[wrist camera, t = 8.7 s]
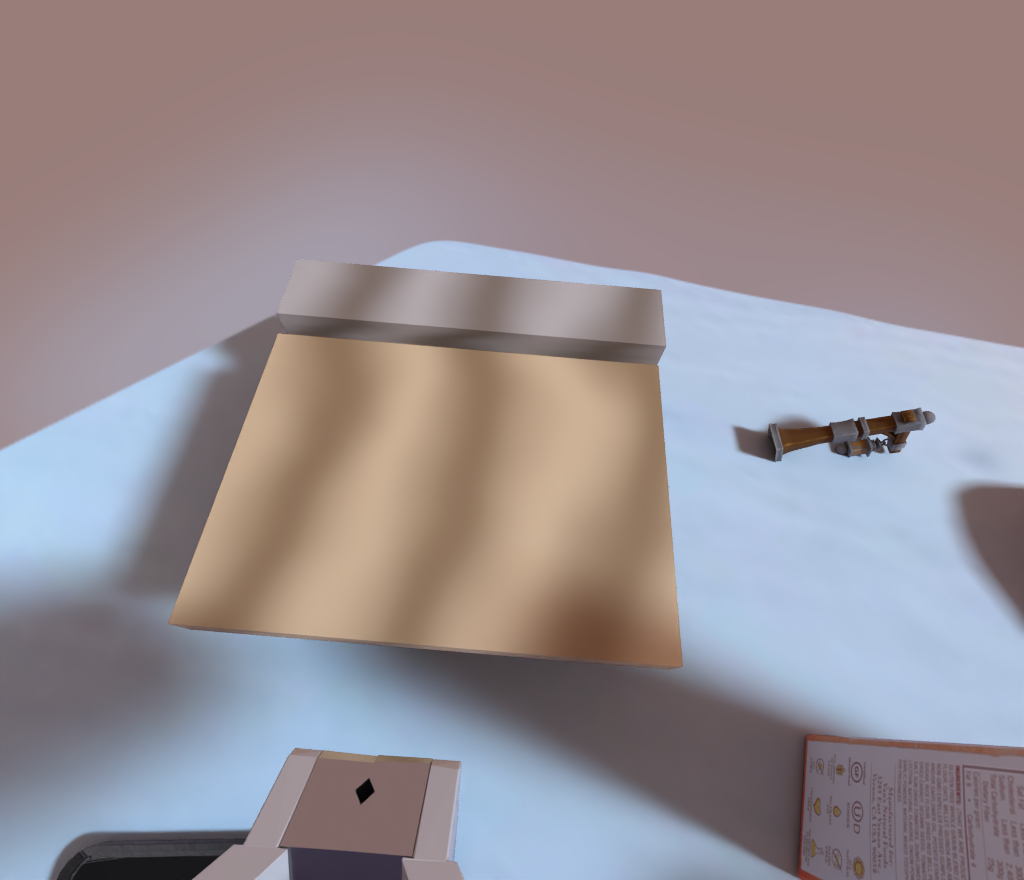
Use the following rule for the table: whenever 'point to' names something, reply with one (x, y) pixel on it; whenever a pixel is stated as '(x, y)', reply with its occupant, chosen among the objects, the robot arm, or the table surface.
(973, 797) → the cracker box
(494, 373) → the oak plank
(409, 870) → the robot arm
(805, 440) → the wooden post with brackets
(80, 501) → the table surface
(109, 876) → the phone
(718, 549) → the table surface
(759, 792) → the table surface
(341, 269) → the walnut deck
